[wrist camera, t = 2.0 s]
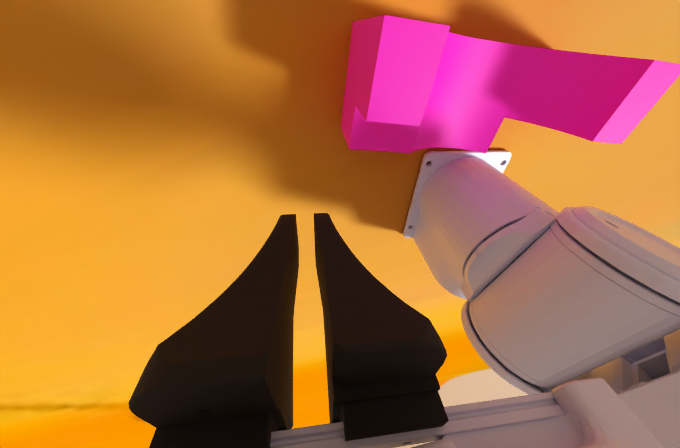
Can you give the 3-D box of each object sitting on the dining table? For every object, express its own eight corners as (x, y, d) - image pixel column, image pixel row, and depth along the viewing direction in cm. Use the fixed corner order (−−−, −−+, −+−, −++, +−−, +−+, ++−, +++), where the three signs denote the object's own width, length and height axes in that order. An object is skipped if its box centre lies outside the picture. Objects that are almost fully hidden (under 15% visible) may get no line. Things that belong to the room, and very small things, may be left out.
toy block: (340, 127, 18) (357, 170, 13) (352, 21, 15) (384, 14, 9) (509, 140, 21) (588, 182, 15) (556, 54, 17) (687, 65, 11)
